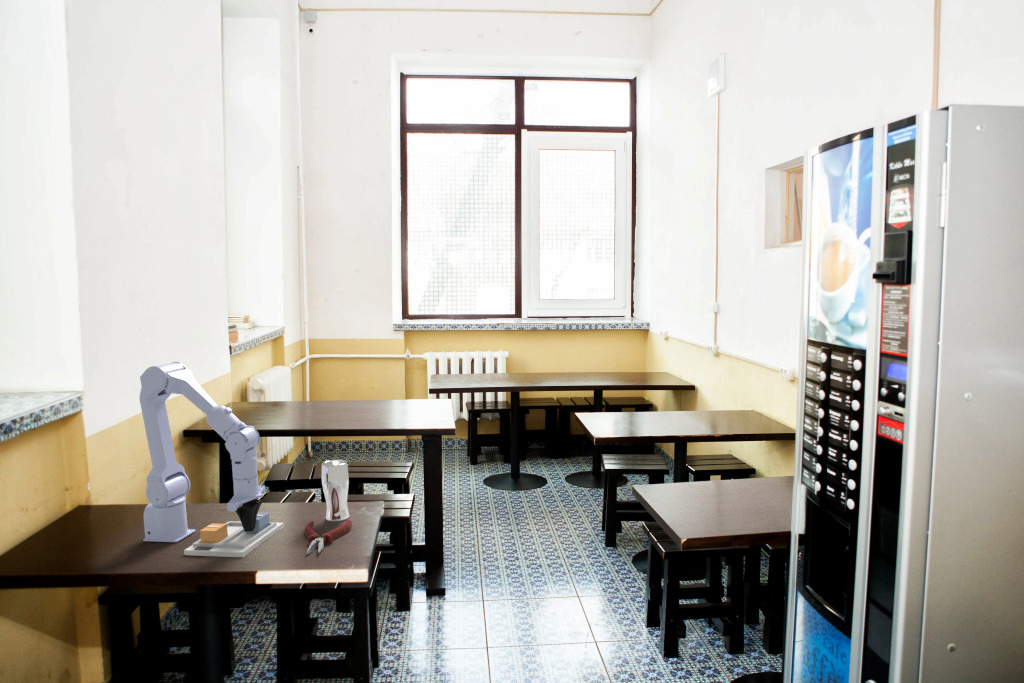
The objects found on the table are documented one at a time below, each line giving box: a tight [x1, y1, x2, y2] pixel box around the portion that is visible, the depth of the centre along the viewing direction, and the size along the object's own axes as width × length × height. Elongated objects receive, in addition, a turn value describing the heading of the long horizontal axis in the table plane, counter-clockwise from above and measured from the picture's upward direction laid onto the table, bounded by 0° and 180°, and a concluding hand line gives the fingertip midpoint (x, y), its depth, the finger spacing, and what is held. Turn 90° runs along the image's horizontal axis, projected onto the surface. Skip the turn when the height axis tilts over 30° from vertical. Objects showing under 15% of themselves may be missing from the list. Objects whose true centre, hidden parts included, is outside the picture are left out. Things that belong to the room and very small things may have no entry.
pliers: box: [303, 519, 353, 555], centre depth 180 cm, size 12×20×3 cm, turn 2°
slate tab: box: [245, 512, 270, 533], centre depth 185 cm, size 4×5×4 cm
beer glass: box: [321, 459, 350, 523], centre depth 195 cm, size 7×7×15 cm
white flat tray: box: [183, 520, 285, 558], centre depth 182 cm, size 15×20×2 cm
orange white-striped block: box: [199, 522, 228, 543], centre depth 178 cm, size 4×5×4 cm
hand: (249, 530), depth 182 cm, fingers closed
